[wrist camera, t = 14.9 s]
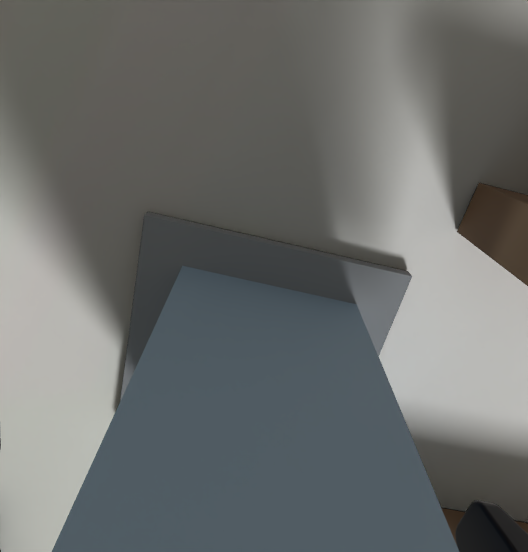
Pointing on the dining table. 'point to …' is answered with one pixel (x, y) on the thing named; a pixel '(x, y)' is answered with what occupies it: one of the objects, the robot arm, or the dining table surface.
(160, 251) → the grey mat
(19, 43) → the dining table surface
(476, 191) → the brown angular open frame
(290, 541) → the slate block
